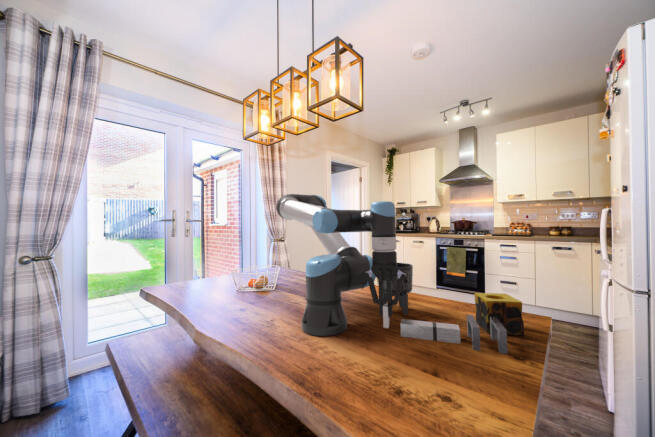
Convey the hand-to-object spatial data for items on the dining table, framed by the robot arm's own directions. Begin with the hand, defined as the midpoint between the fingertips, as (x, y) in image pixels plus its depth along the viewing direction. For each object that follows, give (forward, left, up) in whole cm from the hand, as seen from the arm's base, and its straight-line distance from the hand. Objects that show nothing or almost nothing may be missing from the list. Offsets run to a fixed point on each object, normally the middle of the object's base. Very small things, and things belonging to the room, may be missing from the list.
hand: (386, 326), depth 81 cm
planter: (+1, +22, -2) cm, 22 cm away
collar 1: (+24, 0, -2) cm, 24 cm away
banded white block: (+12, 0, -2) cm, 13 cm away
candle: (+33, +13, -2) cm, 36 cm away
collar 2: (+30, 0, -2) cm, 30 cm away
